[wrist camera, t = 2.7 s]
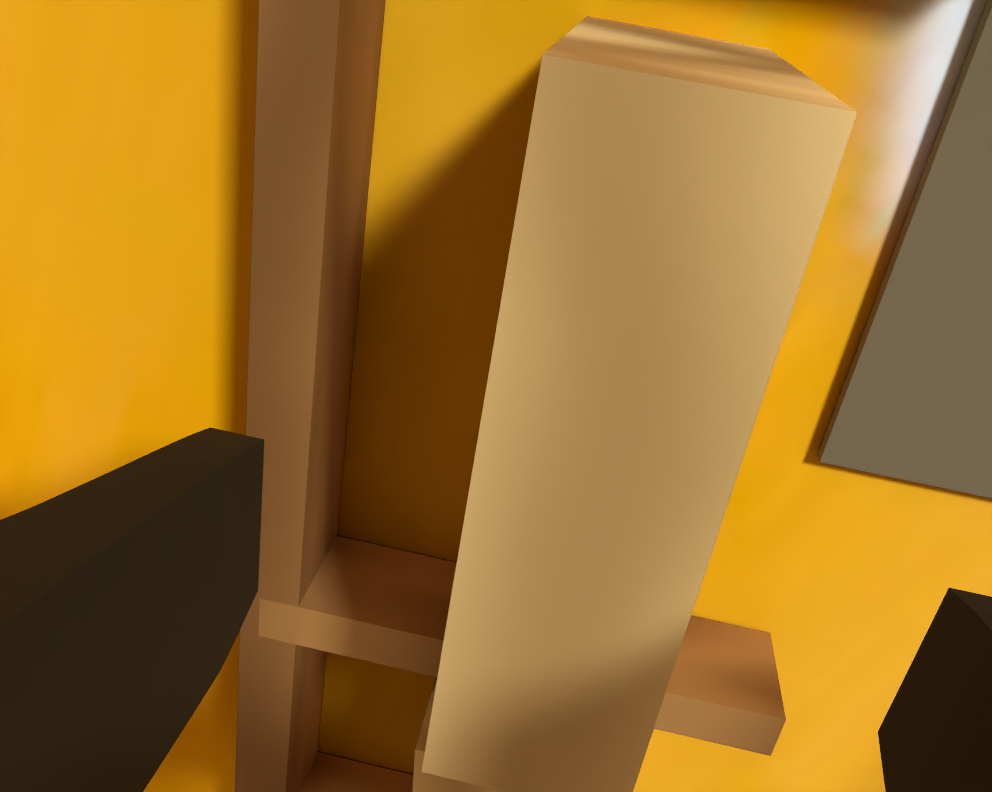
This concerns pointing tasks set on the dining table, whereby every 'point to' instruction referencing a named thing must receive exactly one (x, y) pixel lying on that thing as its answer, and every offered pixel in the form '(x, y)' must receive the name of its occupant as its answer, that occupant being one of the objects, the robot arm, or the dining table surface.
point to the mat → (932, 316)
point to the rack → (322, 435)
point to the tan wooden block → (622, 390)
